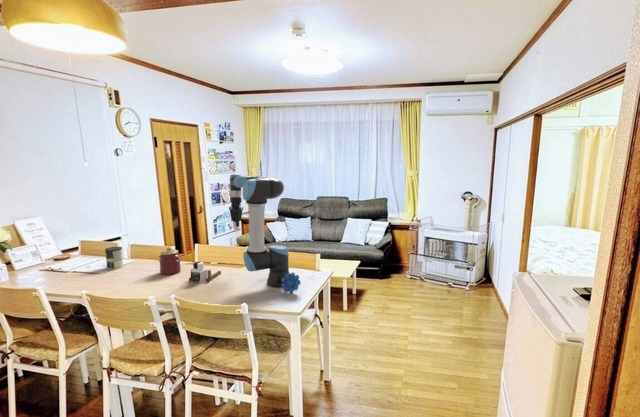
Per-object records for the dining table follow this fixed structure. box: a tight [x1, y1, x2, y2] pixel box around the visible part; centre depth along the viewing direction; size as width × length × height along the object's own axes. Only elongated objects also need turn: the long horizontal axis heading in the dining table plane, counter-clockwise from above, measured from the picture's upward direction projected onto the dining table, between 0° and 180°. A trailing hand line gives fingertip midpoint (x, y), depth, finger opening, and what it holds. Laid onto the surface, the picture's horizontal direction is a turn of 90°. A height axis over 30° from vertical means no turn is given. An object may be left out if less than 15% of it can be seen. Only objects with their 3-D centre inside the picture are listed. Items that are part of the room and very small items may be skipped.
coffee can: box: [104, 246, 124, 270], centre depth 238 cm, size 10×10×14 cm
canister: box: [158, 246, 182, 276], centre depth 226 cm, size 13×13×18 cm
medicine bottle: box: [190, 261, 208, 284], centre depth 209 cm, size 7×7×12 cm
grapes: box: [280, 272, 301, 294], centre depth 189 cm, size 12×7×12 cm, turn 74°
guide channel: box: [188, 268, 222, 283], centre depth 215 cm, size 17×14×6 cm
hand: (236, 231), depth 229 cm, fingers closed
